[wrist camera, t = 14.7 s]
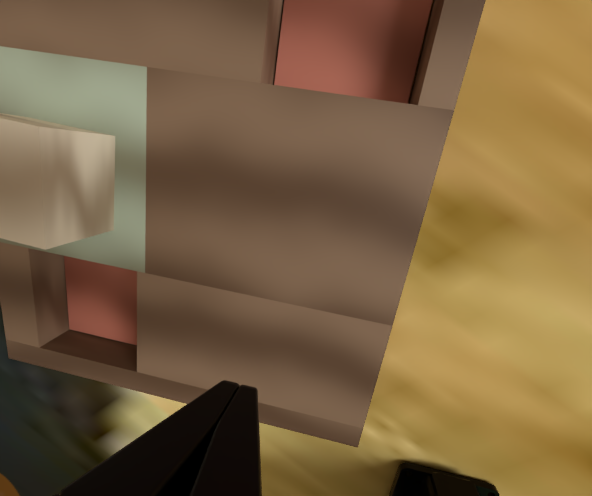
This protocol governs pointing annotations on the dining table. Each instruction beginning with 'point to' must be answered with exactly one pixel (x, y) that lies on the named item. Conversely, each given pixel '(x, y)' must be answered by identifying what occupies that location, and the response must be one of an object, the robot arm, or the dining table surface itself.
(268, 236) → the board
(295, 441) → the dining table surface
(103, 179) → the block
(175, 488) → the robot arm
